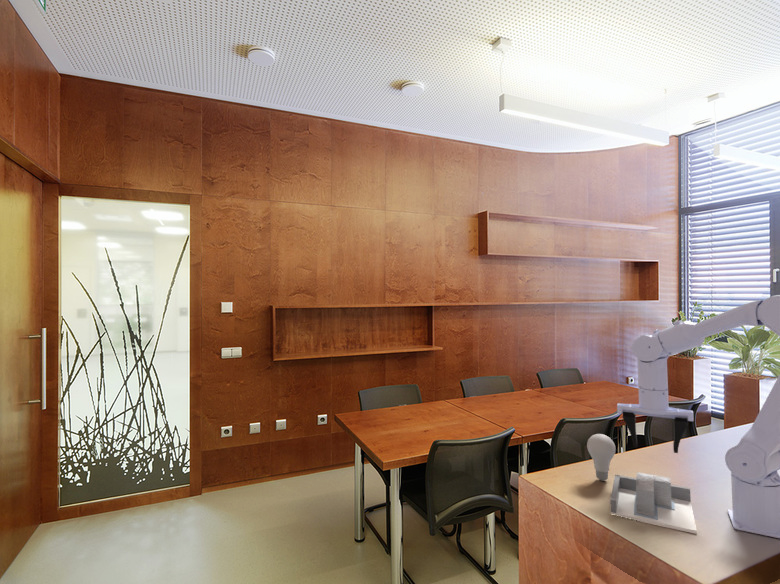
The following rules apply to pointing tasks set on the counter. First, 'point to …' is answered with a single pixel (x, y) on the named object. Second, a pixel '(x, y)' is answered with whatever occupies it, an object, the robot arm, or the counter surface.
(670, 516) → the white tray
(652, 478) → the bracket
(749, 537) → the counter surface
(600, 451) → the lightbulb
